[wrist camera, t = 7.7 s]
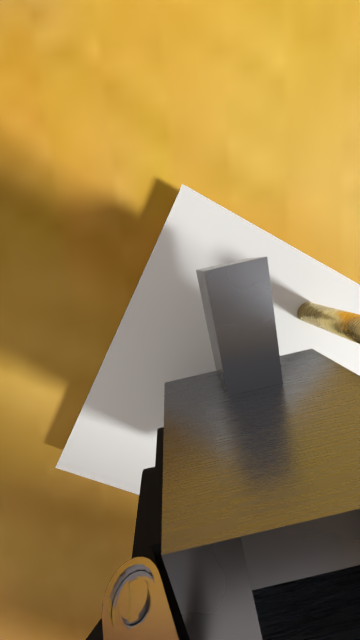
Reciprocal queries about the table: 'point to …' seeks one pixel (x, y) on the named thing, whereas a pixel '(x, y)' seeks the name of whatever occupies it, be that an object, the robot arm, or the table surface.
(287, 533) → the grey socket block
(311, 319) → the brass dowel
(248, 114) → the table surface
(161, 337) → the board
